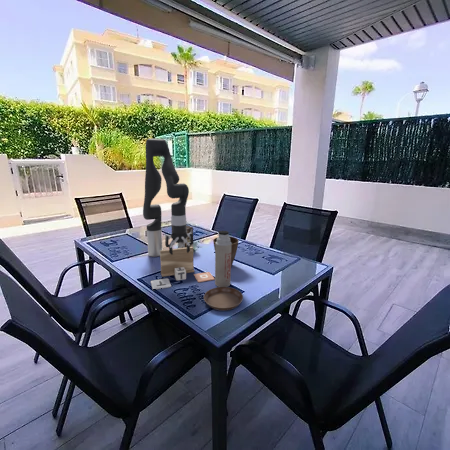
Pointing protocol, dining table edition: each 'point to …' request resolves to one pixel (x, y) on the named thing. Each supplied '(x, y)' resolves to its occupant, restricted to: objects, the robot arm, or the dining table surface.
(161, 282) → the pad
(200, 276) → the pad
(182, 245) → the coffee box
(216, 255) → the thermos bottle
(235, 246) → the plant pot
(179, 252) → the screen
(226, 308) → the plant saucer
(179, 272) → the letter cube
